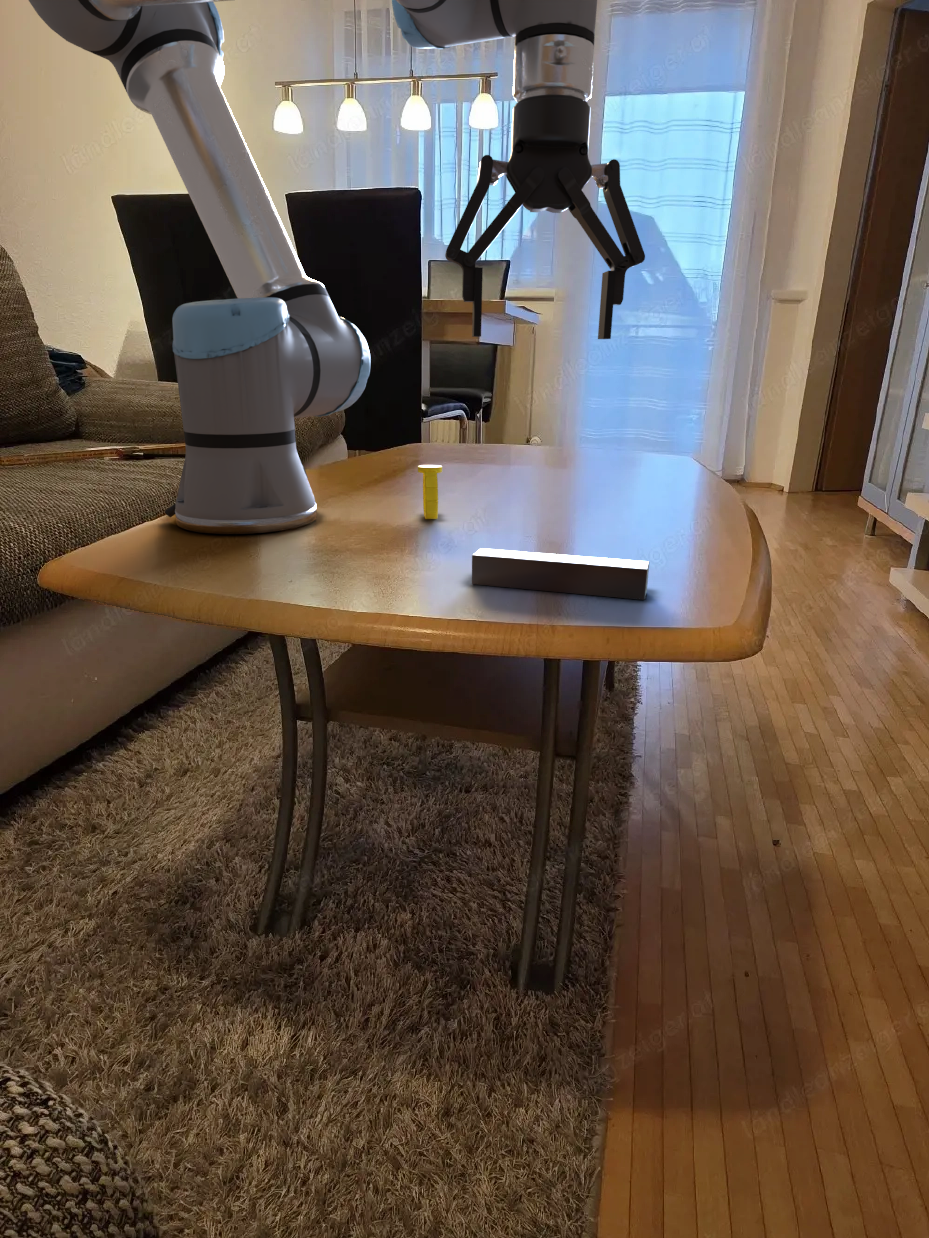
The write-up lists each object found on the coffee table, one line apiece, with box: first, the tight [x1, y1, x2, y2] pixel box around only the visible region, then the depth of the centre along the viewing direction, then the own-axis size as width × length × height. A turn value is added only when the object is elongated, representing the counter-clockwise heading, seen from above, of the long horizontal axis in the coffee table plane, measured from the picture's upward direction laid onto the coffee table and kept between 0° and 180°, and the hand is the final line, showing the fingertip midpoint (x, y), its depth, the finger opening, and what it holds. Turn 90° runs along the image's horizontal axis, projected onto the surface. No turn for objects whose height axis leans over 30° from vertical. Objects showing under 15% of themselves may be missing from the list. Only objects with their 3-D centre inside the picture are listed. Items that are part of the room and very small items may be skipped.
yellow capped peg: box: [417, 464, 443, 520], centre depth 87 cm, size 6×3×6 cm, turn 6°
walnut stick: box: [471, 547, 650, 601], centre depth 61 cm, size 14×2×2 cm, turn 73°
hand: (540, 338), depth 80 cm, fingers open, 13 cm apart
